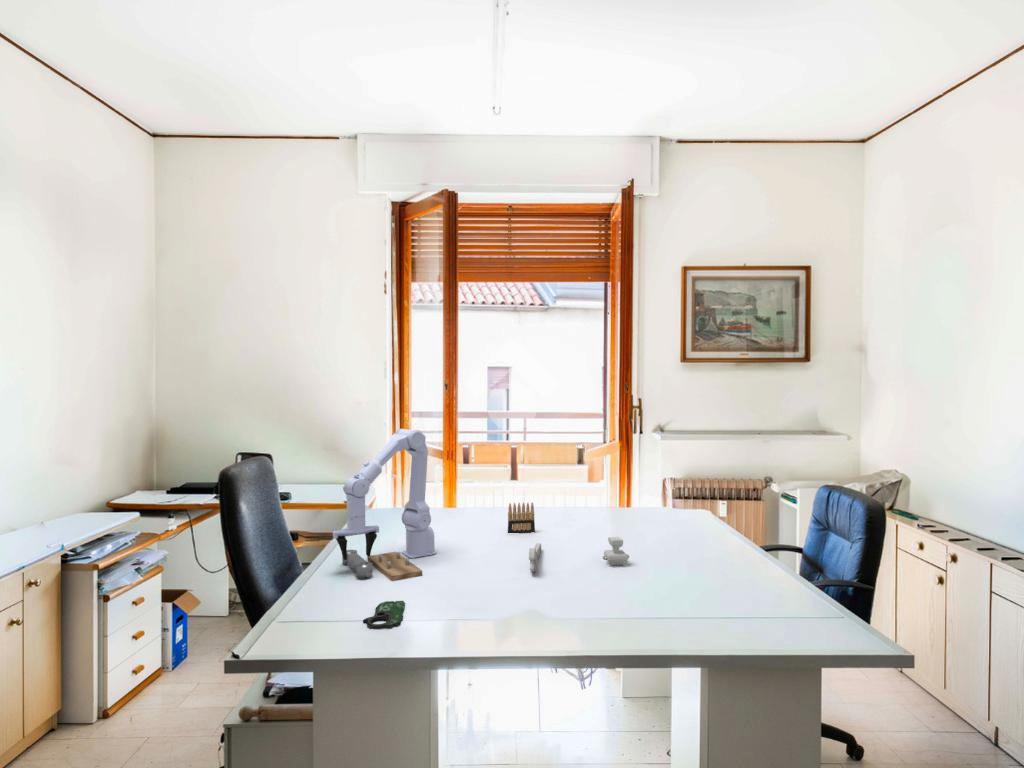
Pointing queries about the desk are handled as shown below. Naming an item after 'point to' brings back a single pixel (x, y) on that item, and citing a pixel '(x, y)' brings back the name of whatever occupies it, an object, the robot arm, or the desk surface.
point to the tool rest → (394, 566)
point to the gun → (386, 615)
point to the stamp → (615, 552)
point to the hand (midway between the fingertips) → (356, 557)
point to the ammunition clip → (526, 520)
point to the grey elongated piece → (358, 565)
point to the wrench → (534, 556)
